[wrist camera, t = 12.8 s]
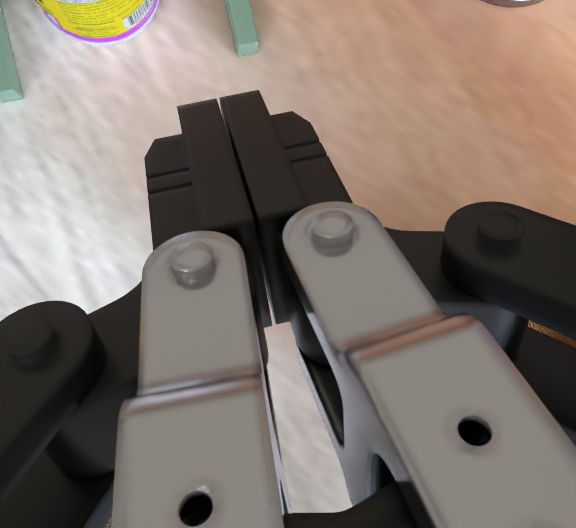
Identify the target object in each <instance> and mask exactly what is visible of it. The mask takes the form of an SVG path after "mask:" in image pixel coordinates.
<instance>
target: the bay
mask: <svg viewBox="0 0 576 528" xmlns="http://www.w3.org/2000/svg"><path fill="white" fill-rule="evenodd" d="M224 1H225V6H226V10H227V14H228V18H229V22H230V27H231V31H232V35H233V39H234V43H235V48H236V52H237V55H238V56H244V55H249V54H254V53H257V52H258V45H259V40H258V35H257V31H256V27H255V23H254V18H253V14H252V10H251V6H250V2H249V0H224ZM18 99H23V94H22V90H21V85H20V81H19V77H18V73H17V69H16V65H15V60H14V56H13V52H12V48H11V44H10V40H9V35H8V31H7V27H6V23H5V19H4V14H3V10H2V6H1V2H0V102H2V103H3V102H8V101H13V100H18Z"/></svg>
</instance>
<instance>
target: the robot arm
mask: <svg viewBox="0 0 576 528" xmlns="http://www.w3.org/2000/svg"><path fill="white" fill-rule="evenodd" d="M482 1H484V2H487V3H489V4H493V5H496V6H502V7H524V6H529V5H533V4H536V3H538V2H541V1H543V0H482ZM220 106H221V111H222V115H221V111H220V108H219V105H218V102H217V99H211V100H206V101H201V102H196V103H191V104H186V105H181V106H177V109H178V114H179V119H180V124H181V129H182V134H179V135H174V136H169V137H164V138H159V139H155V140H154V142H153V143H152V145H151V147H150V149H149V151H148V152H147V154H146V156H145V168H146V177H147V189H148V194H149V195H148V200H149V210H150V221H151V231H152V242H153V252H152V253H151V254H150V256H149V257H148V259H147V260H146V262H145V265H144V267H143V272H142V281H141V282H140V283H139V284H138V285H137V286H136V287H135V288H134V289H133V290H131V291H130V292H129V293H127V294H126V295H124V296H123V297H121V298H119V299H118V300H116V301H114V302H112V303H110V304H108V305H106V306H104V307H102V308H100V309H98V310H96V311H94V312H92V313H90V314H88V315H87V314H86V313H85V311H84V310H82V309H81V308H80V307H79V306H77V305H74V304H72V303H69V302H65V301H45V302H40V303H36V304H33V305H30V306H27V307H24V308H22V309H20V310H18V311H16V312H14V313H12V314H11V315H9V316H7V317H6V318H5V319H3V320H2V321H1V322H0V528H104V527H105V525H106V524H107V522H108V521H109V519H110V517H111V516H112V522H111V528H576V348H574V347H572V346H570V345H568V344H565V343H563V342H561V341H559V340H556V339H554V338H552V337H550V336H548V335H545V334H543V333H541V332H539V331H536V330H534V329H532V328H530V327H528V326H527V325H528V322H529V320H531V321H533V322H535V323H537V324H540V325H542V326H544V327H546V328H549V329H551V330H553V331H556V332H558V333H560V334H562V335H565V336H567V337H569V338H571V339H574V340H576V226H575V225H572V224H569V223H567V222H564V221H561V220H558V219H555V218H552V217H549V216H546V215H543V214H540V213H538V212H535V211H532V210H529V209H526V208H523V207H520V206H517V205H513V204H509V203H504V202H479V203H474V204H470V205H467V206H465V207H462V208H460V209H459V210H457V211H456V212H454V213H453V214H452V215H451V216H450V218H449V219H448V221H447V223H446V226H445V231H444V232H441V231H400V230H394V229H390V228H386V227H383V225H382V224H381V222H380V221H379V220H378V219H377V217H376V216H375V215H374V214H373V213H371V212H370V211H369V210H367V209H365V208H363V207H361V206H358V205H356V204H353V202H352V200H351V198H350V196H349V195H348V193H347V191H346V189H345V187H344V185H343V183H342V181H341V179H340V178H339V176H338V174H337V172H336V170H335V168H334V166H333V164H332V163H331V161H330V159H329V157H328V156H327V155H326V151H325V149H324V147H323V146H322V144H321V143H320V142H319V138H318V136H317V134H316V132H315V130H314V129H313V127H312V125H311V123H310V122H308V121H307V120H305V119H304V118H302V117H300V116H299V115H297V114H296V113H294V112H293V111H290V112H285V113H280V114H276V115H271V116H270V114H269V112H268V110H267V107H266V105H265V103H264V100H263V98H262V96H261V94H260V92H259V90H255V91H250V92H245V93H240V94H235V95H230V96H225V97H220ZM222 117H223V118H222ZM266 291H267V292H266ZM267 295H268V298H269V302H270V305H271V308H272V312H273V315H274V319H275V322H276V324H280V323H284V322H288V321H290V323H291V326H292V329H293V332H294V335H295V339H296V346H297V354H298V359H299V363H300V365H301V368H302V370H303V373H304V375H305V378H306V380H307V382H308V385H309V387H310V390H311V392H312V395H313V397H314V399H315V402H316V404H317V407H318V409H319V412H320V414H321V416H322V419H323V421H324V424H325V426H326V429H327V431H328V434H329V436H330V438H331V441H332V443H333V446H334V448H335V451H336V453H337V456H338V458H339V461H340V464H341V467H342V470H343V474H344V478H345V482H346V486H347V490H348V493H349V496H350V500H351V503H352V506H353V507H351V508H349V509H347V510H345V511H342V512H335V513H292V512H291V506H290V501H289V495H288V490H287V484H286V479H285V473H284V467H283V461H282V455H281V448H280V442H279V436H278V430H277V424H276V418H275V412H274V406H273V399H272V393H271V387H270V381H269V375H268V369H267V363H268V348H267V343H266V338H265V333H264V328H265V327H269V326H272V321H271V315H270V310H269V304H268V298H267Z"/></svg>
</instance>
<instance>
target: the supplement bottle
mask: <svg viewBox="0 0 576 528" xmlns="http://www.w3.org/2000/svg"><path fill="white" fill-rule="evenodd" d="M35 1H36V3H37V4H38V5H39V7H40V8H41V9H42V11H43V12H44V14H45V15H46V16H47V17H48V18H49V20H50V21H51V22H52V23H53V24H54V25H55V26H56V27H57V28H58V29H59V30H60V31H61V32H63V33H64V34H66V35H67V36H69V37H70V38H72V39H74V40H76V41H79V42H81V43H85V44H88V45H94V46H111V45H116V44H120V43H123V42H125V41H128V40H130V39H132V38H133V37H135V36H136V35H138V34H139V33H140V32H142V31H143V30H144V29H145V28H146V27H147V25H148V24H149V23H150V21H151V20H152V18H153V16H154V15H155V12H156V10H157V7H158V4H159V0H35Z"/></svg>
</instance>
